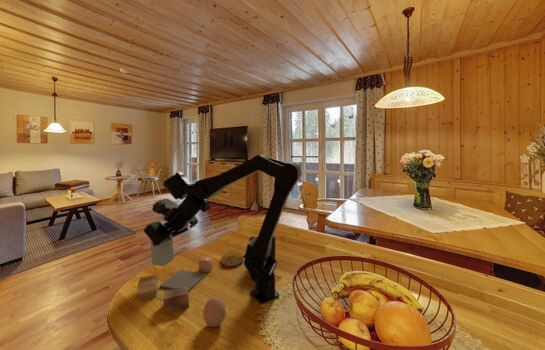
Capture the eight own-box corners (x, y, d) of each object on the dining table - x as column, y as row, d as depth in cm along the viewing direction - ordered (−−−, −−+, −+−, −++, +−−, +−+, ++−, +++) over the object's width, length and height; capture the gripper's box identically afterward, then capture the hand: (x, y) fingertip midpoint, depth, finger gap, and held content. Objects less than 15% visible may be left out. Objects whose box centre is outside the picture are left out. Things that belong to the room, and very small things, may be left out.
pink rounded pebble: (214, 270, 81) (213, 259, 81) (201, 274, 79) (200, 263, 78) (209, 265, 85) (209, 255, 84) (197, 269, 82) (196, 258, 82)
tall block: (173, 259, 77) (171, 221, 76) (164, 266, 73) (161, 225, 71) (162, 258, 78) (159, 220, 77) (152, 264, 74) (149, 224, 73)
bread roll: (241, 255, 94) (241, 245, 94) (244, 265, 85) (244, 254, 85) (220, 257, 92) (220, 247, 92) (221, 268, 83) (220, 257, 83)
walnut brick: (188, 299, 66) (187, 285, 65) (188, 308, 62) (188, 293, 62) (164, 304, 63) (164, 290, 63) (164, 313, 60) (163, 299, 59)
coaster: (206, 275, 78) (206, 273, 78) (188, 292, 69) (188, 290, 69) (180, 271, 81) (180, 269, 81) (159, 287, 71) (159, 285, 71)
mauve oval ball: (205, 336, 52) (204, 307, 52) (202, 321, 57) (201, 294, 56) (228, 328, 54) (227, 300, 54) (223, 314, 59) (222, 289, 58)
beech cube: (156, 296, 67) (155, 282, 66) (138, 300, 65) (137, 285, 65) (158, 288, 71) (157, 274, 71) (141, 291, 69) (140, 277, 69)
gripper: (188, 186, 81) (163, 216, 85) (147, 196, 63) (117, 233, 67) (209, 210, 80) (183, 238, 84) (173, 227, 62) (142, 262, 66)
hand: (159, 242), depth 75 cm, fingers closed on tall block, 4 cm apart
